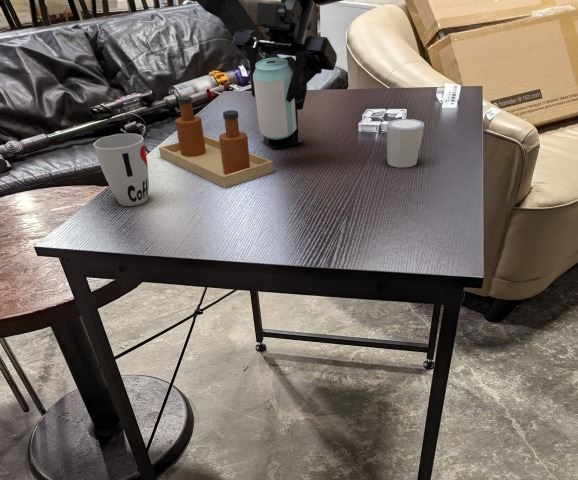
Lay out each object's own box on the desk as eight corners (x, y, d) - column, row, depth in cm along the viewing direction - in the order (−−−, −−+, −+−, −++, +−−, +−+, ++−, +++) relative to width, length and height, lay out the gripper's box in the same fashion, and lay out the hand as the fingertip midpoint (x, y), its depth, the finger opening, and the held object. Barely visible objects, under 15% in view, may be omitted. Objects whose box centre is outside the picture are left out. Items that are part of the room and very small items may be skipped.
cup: (133, 212, 89) (117, 151, 82) (100, 204, 93) (82, 145, 86) (165, 195, 94) (153, 136, 88) (133, 188, 98) (118, 131, 91)
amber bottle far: (201, 147, 113) (192, 93, 106) (209, 153, 109) (201, 98, 102) (177, 151, 111) (168, 97, 104) (185, 158, 107) (175, 102, 100)
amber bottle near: (244, 164, 103) (238, 106, 96) (254, 172, 99) (249, 113, 92) (219, 170, 101) (211, 111, 94) (229, 178, 98) (222, 118, 91)
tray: (160, 157, 110) (158, 147, 109) (205, 144, 115) (204, 134, 114) (225, 188, 96) (223, 177, 94) (273, 171, 101) (272, 161, 99)
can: (252, 134, 101) (243, 65, 92) (279, 121, 104) (273, 52, 95) (276, 144, 97) (269, 73, 88) (304, 131, 100) (300, 60, 91)
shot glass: (398, 154, 105) (401, 116, 100) (427, 161, 101) (432, 122, 96) (376, 163, 101) (379, 124, 97) (406, 171, 98) (409, 131, 93)
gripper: (229, -27, 88) (204, 69, 91) (328, -22, 81) (298, 81, 84) (259, 14, 99) (236, 100, 101) (349, 21, 92) (322, 113, 94)
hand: (270, 98), depth 95 cm, fingers closed on can, 7 cm apart
